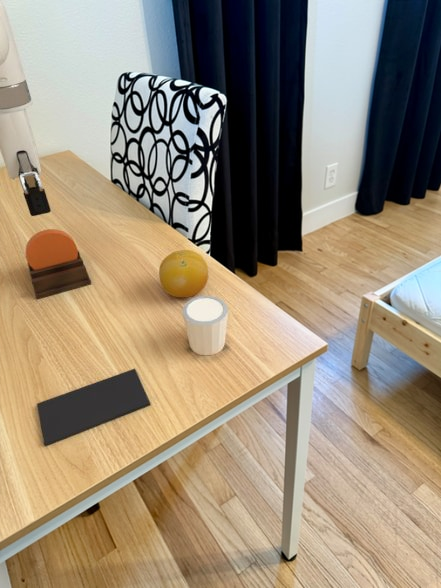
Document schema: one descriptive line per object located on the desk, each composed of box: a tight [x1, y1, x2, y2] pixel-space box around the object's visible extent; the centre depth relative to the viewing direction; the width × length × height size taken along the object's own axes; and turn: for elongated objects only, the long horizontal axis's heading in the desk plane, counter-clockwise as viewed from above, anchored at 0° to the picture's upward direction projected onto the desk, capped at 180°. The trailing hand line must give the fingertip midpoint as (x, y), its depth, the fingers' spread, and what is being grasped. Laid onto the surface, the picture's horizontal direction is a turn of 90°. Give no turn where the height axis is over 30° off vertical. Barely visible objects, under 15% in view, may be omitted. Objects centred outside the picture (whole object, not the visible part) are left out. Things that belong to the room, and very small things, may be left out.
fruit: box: [158, 249, 209, 298], centre depth 76 cm, size 9×8×8 cm
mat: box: [36, 368, 151, 447], centre depth 59 cm, size 14×7×1 cm, turn 116°
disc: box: [25, 228, 79, 270], centre depth 80 cm, size 9×2×9 cm, turn 116°
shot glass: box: [182, 295, 229, 356], centre depth 66 cm, size 7×7×7 cm
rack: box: [25, 245, 92, 300], centre depth 83 cm, size 10×11×4 cm
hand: (37, 201), depth 74 cm, fingers open, 9 cm apart
